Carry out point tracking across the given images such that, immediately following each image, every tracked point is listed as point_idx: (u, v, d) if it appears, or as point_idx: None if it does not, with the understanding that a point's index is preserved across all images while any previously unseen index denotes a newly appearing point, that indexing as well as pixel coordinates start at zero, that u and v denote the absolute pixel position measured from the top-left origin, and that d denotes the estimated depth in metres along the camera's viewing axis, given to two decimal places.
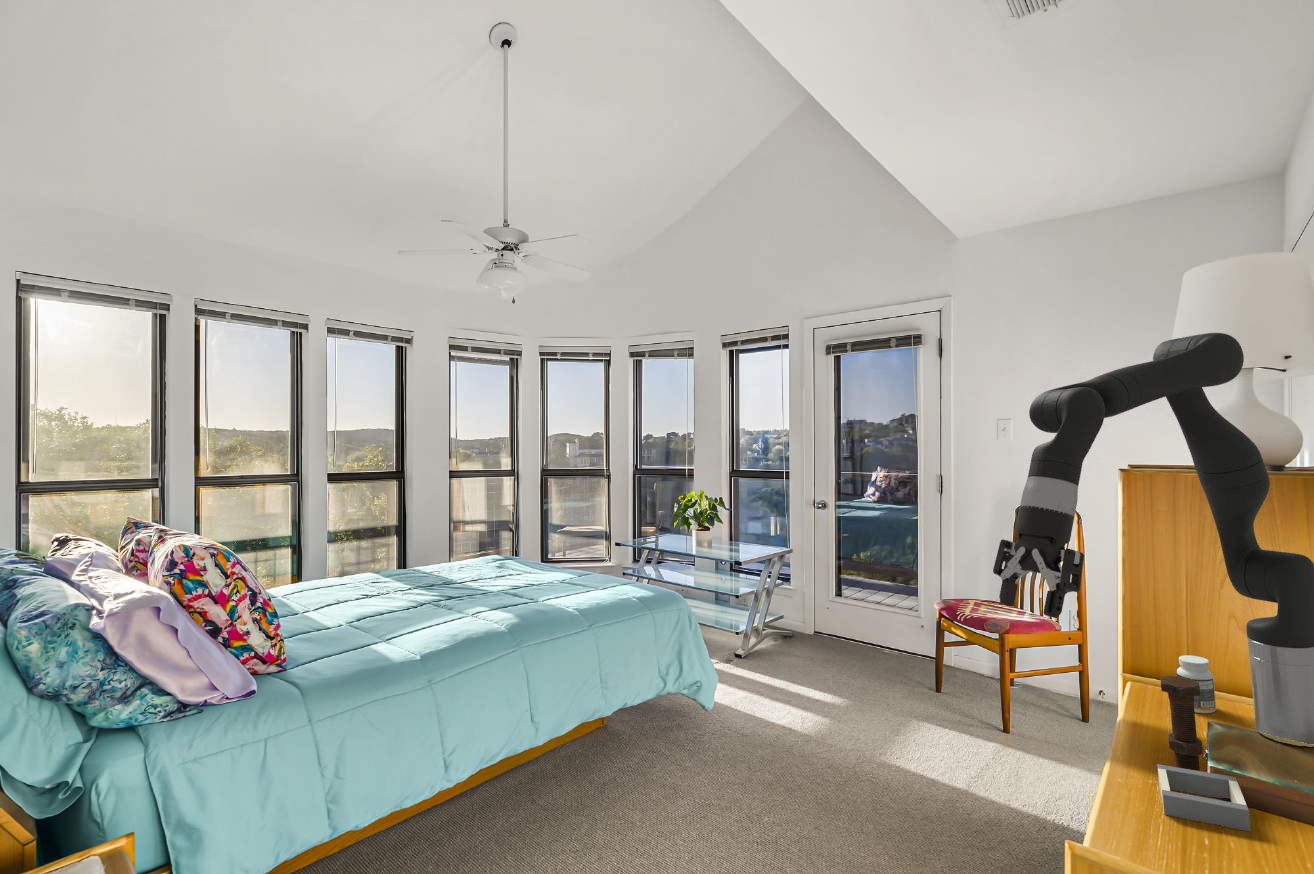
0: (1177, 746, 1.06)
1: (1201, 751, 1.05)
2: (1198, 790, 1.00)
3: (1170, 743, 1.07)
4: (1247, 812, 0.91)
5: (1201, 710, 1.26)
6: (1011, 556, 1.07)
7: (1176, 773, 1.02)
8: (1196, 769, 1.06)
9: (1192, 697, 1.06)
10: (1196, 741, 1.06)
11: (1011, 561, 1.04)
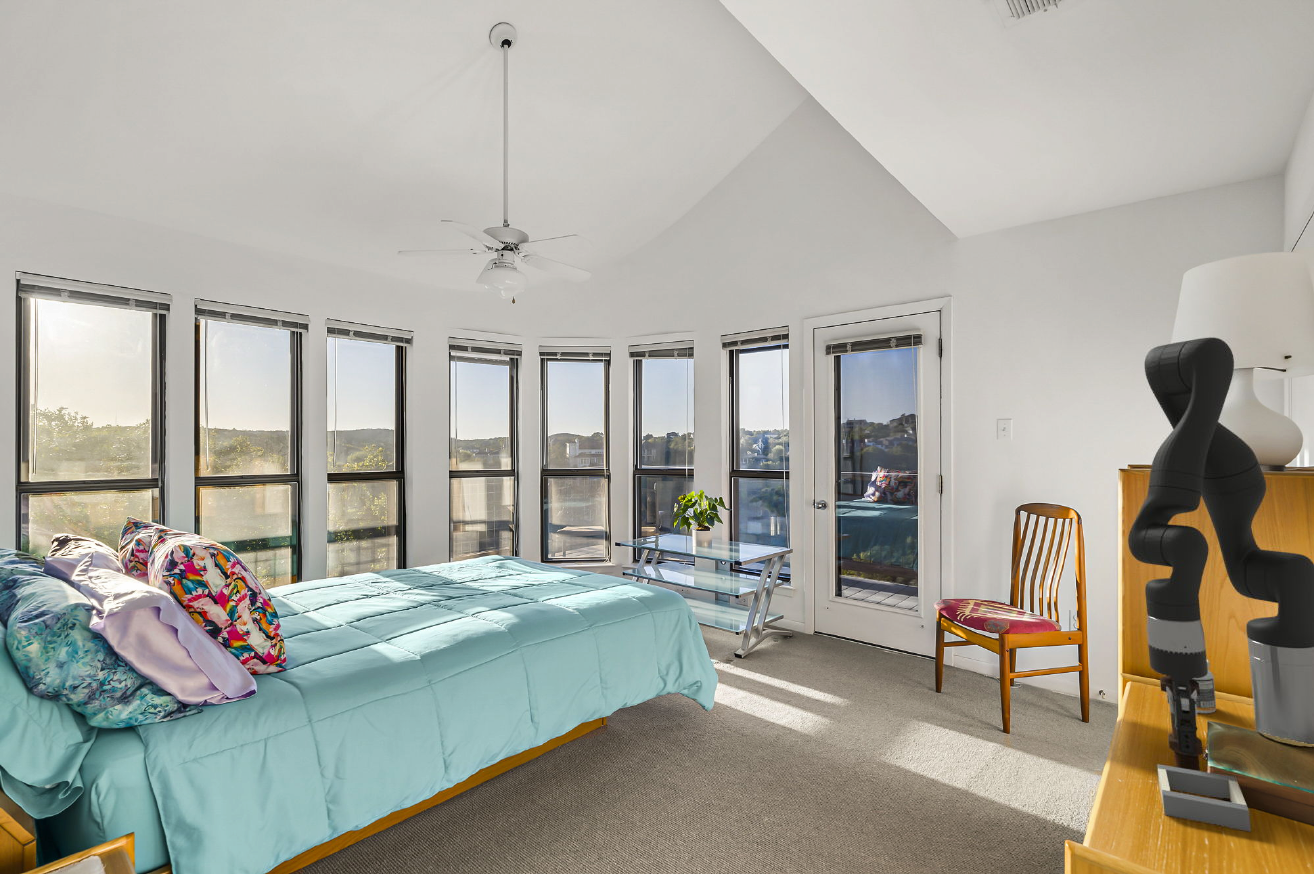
0: (1177, 746, 1.06)
1: (1201, 751, 1.05)
2: (1198, 790, 1.00)
3: (1170, 743, 1.07)
4: (1247, 812, 0.91)
5: (1201, 710, 1.26)
6: None
7: (1176, 773, 1.02)
8: (1196, 769, 1.06)
9: None
10: (1196, 741, 1.06)
11: None
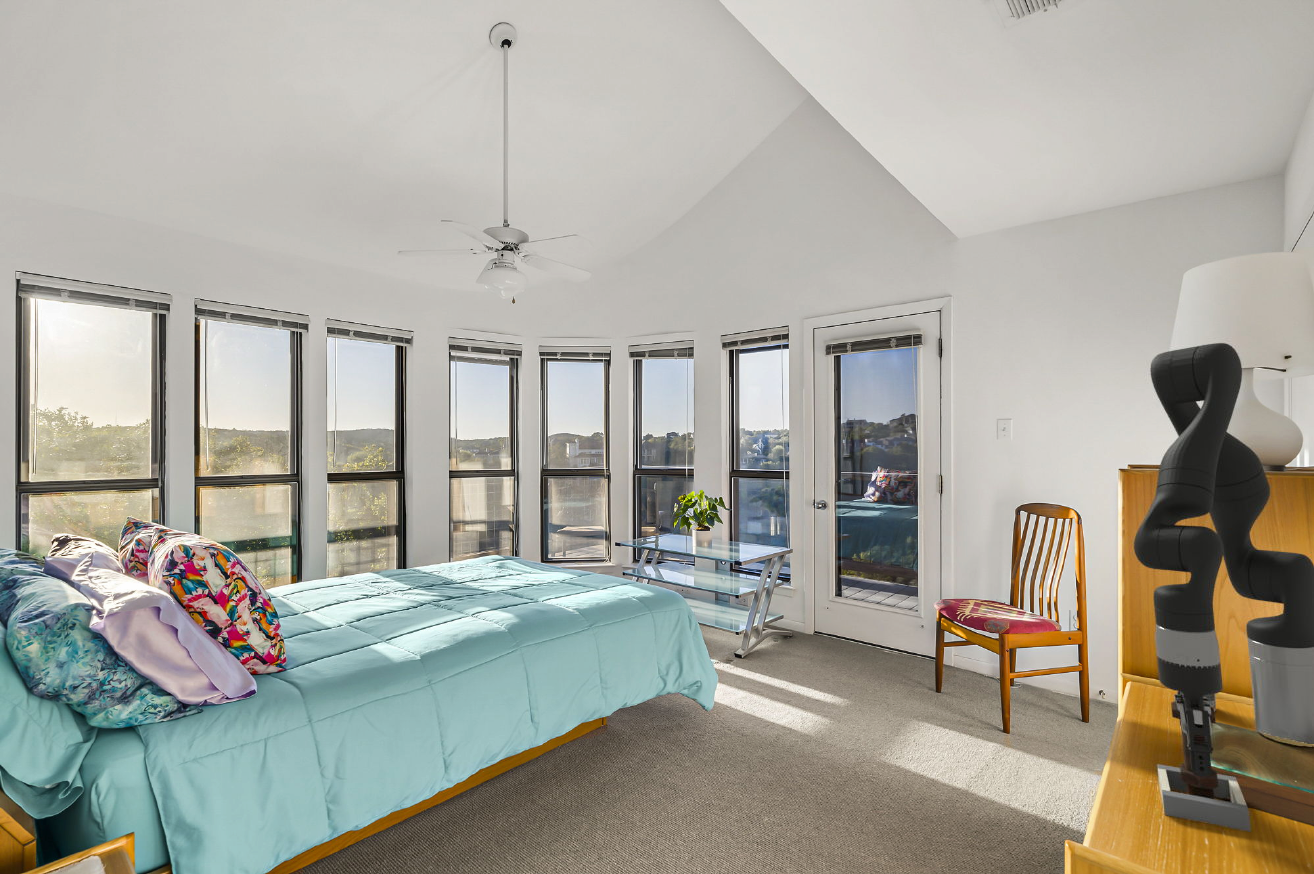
0: (1190, 778, 0.97)
1: (1216, 784, 0.96)
2: None
3: (1182, 774, 0.98)
4: (1247, 812, 0.91)
5: None
6: None
7: (1176, 773, 1.02)
8: None
9: None
10: (1211, 773, 0.96)
11: None
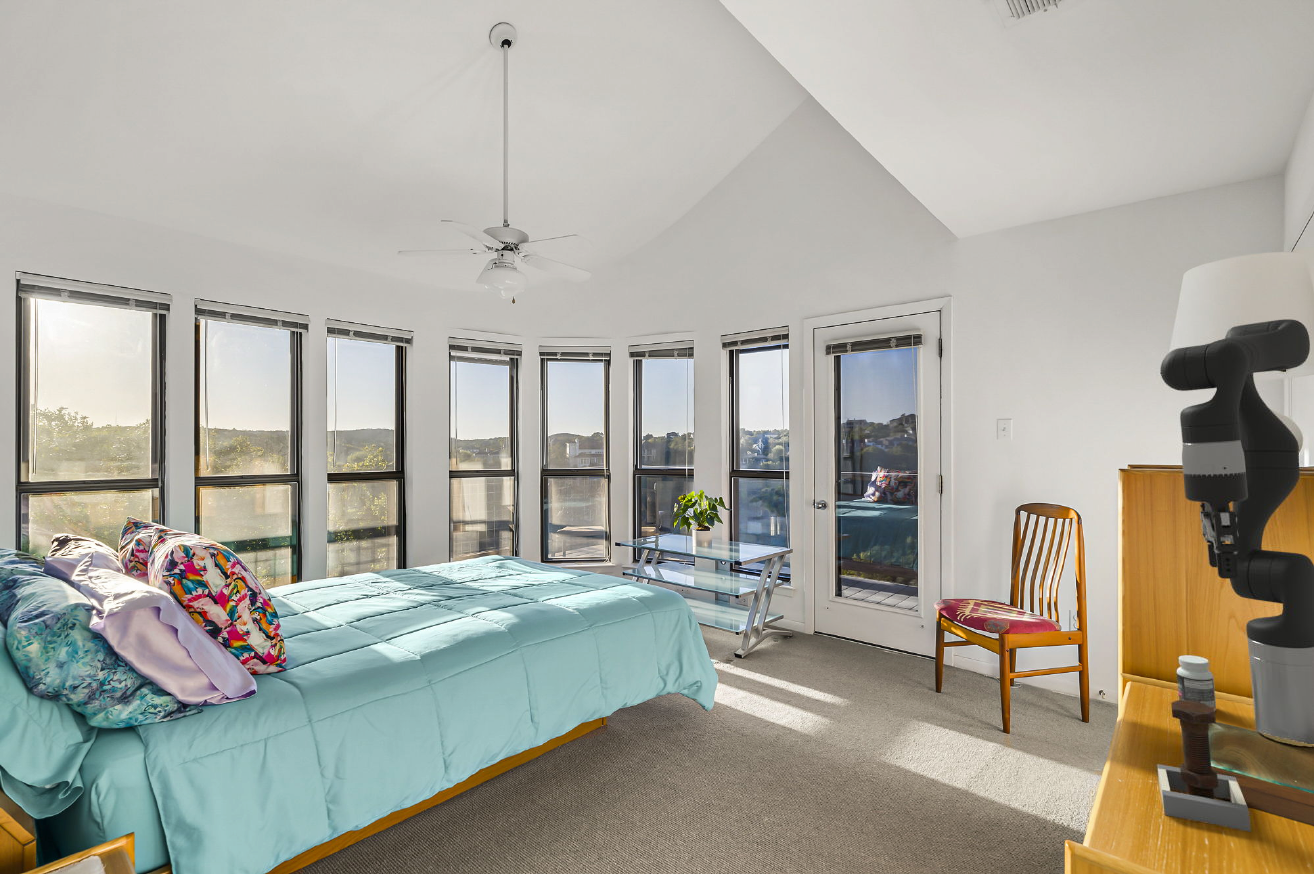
0: (1190, 778, 0.97)
1: (1216, 784, 0.96)
2: None
3: (1182, 774, 0.98)
4: (1247, 812, 0.91)
5: None
6: None
7: (1176, 773, 1.02)
8: None
9: (1206, 724, 0.96)
10: (1211, 773, 0.96)
11: (1202, 525, 1.05)
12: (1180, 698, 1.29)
